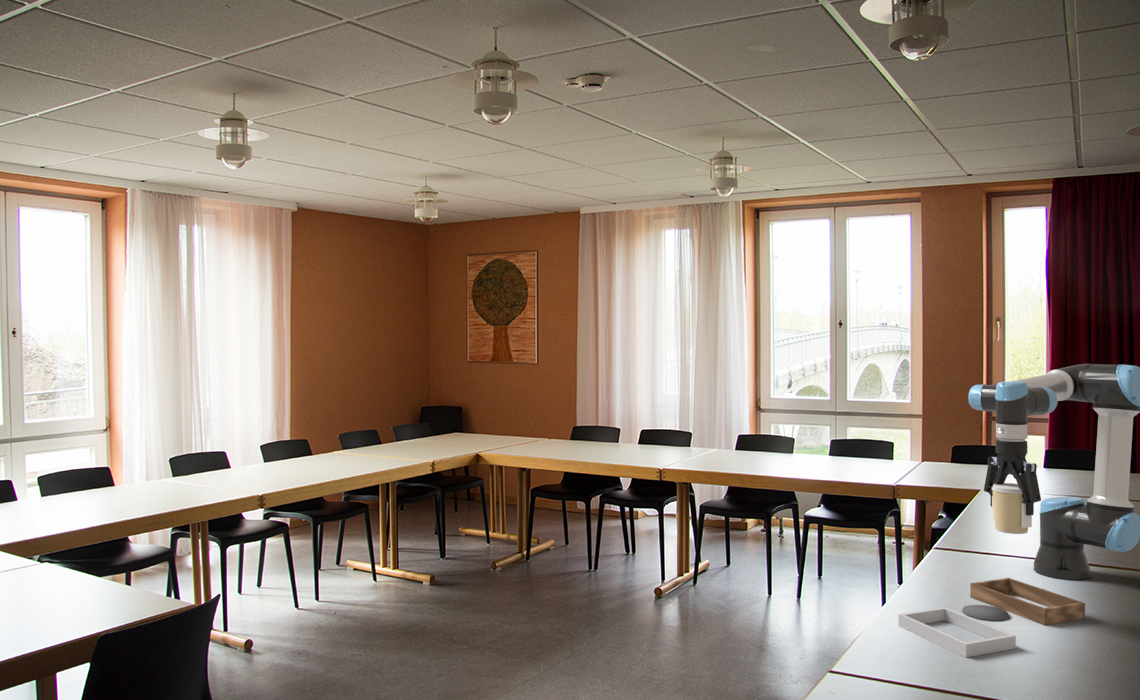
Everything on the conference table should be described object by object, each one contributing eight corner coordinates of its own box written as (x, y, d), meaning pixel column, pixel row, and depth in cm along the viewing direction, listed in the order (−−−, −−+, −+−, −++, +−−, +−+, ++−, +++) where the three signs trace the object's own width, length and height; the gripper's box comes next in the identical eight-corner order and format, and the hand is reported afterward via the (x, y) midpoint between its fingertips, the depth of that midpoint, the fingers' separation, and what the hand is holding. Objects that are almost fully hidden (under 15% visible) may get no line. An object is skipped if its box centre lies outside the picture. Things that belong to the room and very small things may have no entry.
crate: (1008, 591, 239) (1008, 577, 239) (1085, 618, 216) (1085, 603, 216) (970, 597, 234) (970, 583, 234) (1044, 625, 212) (1044, 609, 212)
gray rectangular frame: (945, 618, 218) (945, 607, 218) (1015, 648, 197) (1015, 635, 197) (898, 625, 213) (898, 614, 213) (965, 657, 192) (965, 644, 192)
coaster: (984, 605, 228) (984, 602, 228) (1018, 617, 217) (1018, 615, 217) (953, 609, 224) (953, 607, 224) (985, 623, 214) (985, 620, 214)
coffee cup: (1036, 535, 218) (1036, 489, 218) (997, 534, 220) (997, 488, 219) (1024, 527, 227) (1024, 483, 227) (987, 526, 229) (987, 482, 229)
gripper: (968, 435, 232) (969, 516, 232) (1035, 445, 211) (1035, 533, 212) (989, 434, 234) (989, 513, 235) (1057, 443, 214) (1057, 531, 214)
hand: (1011, 523), depth 223 cm, fingers closed on coffee cup, 9 cm apart
